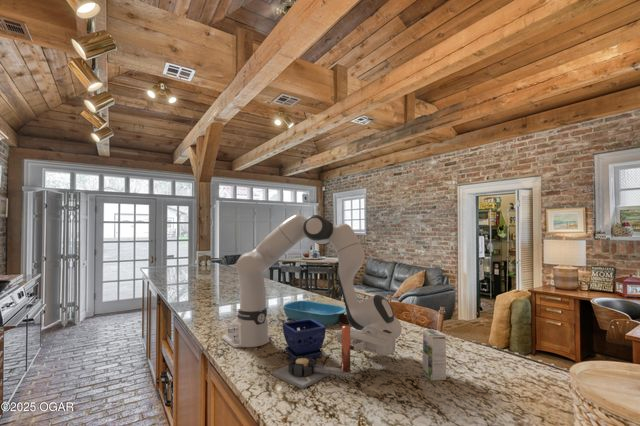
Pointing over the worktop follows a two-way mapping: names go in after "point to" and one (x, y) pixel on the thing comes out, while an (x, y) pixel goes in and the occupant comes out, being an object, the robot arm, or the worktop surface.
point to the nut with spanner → (312, 367)
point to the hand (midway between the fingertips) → (351, 347)
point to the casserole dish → (314, 311)
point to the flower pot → (304, 338)
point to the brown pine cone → (343, 319)
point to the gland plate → (297, 380)
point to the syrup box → (434, 355)
